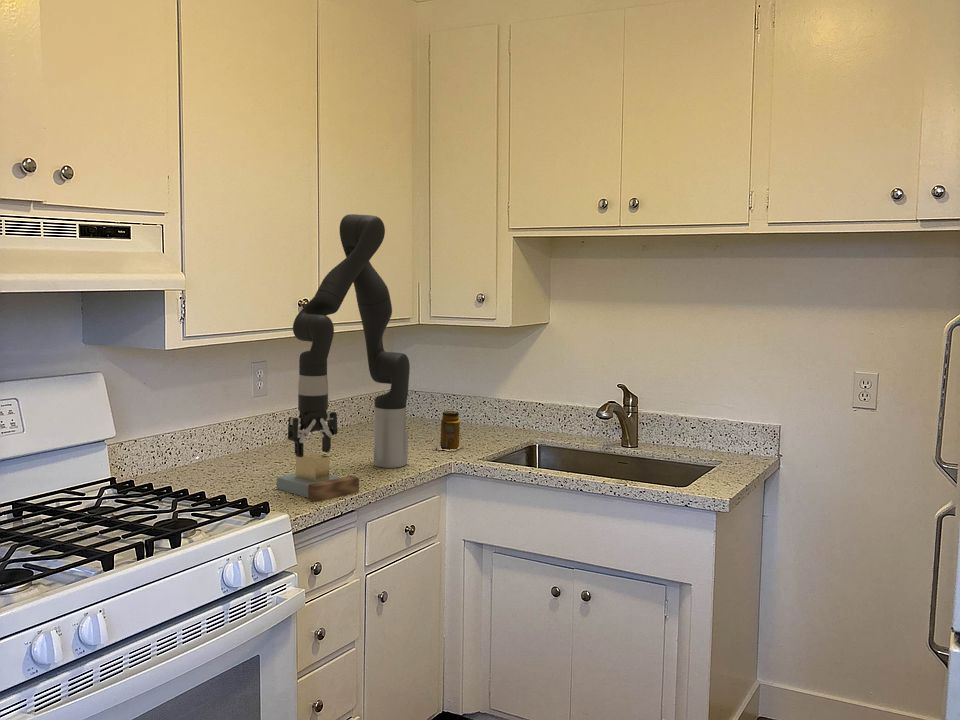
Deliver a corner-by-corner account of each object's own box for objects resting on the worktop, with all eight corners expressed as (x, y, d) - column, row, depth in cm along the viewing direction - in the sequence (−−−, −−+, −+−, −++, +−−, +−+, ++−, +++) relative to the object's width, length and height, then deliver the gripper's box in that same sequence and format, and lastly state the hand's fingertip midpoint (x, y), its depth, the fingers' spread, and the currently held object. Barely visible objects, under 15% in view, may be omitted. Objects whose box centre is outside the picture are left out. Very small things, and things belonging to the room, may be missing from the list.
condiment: (463, 447, 292) (464, 411, 291) (454, 452, 284) (455, 415, 283) (442, 445, 294) (443, 409, 293) (432, 450, 286) (433, 413, 285)
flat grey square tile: (313, 480, 241) (313, 469, 241) (348, 490, 232) (348, 479, 232) (276, 488, 232) (276, 477, 232) (311, 498, 223) (311, 487, 223)
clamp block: (309, 474, 236) (309, 451, 235) (329, 479, 231) (329, 456, 230) (295, 476, 233) (295, 454, 232) (315, 482, 228) (315, 459, 227)
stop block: (351, 490, 233) (351, 475, 233) (358, 492, 231) (359, 477, 231) (308, 500, 222) (308, 484, 222) (315, 502, 220) (316, 486, 220)
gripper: (300, 396, 222) (299, 461, 224) (344, 391, 232) (343, 452, 234) (281, 393, 227) (281, 456, 228) (325, 387, 237) (325, 447, 239)
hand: (313, 454), depth 231 cm, fingers open, 8 cm apart
